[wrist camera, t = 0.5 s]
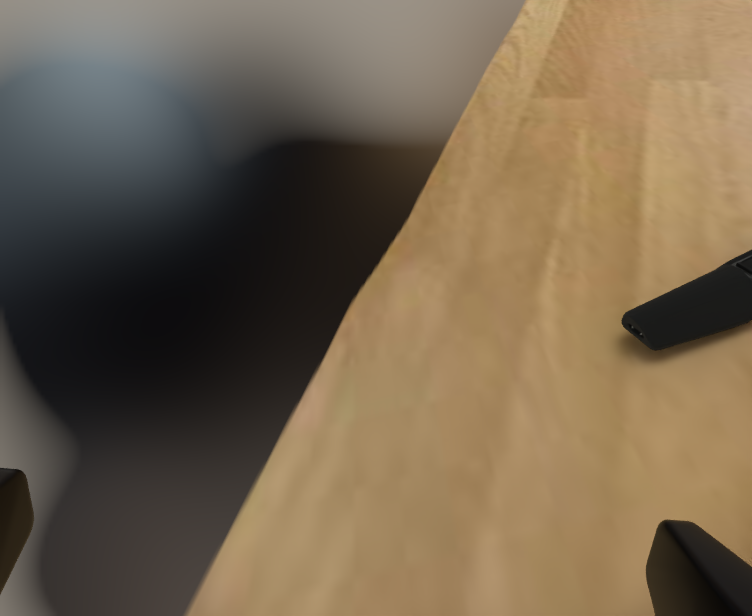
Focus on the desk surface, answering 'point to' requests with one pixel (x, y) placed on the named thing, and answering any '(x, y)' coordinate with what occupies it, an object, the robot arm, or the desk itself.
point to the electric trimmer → (696, 307)
